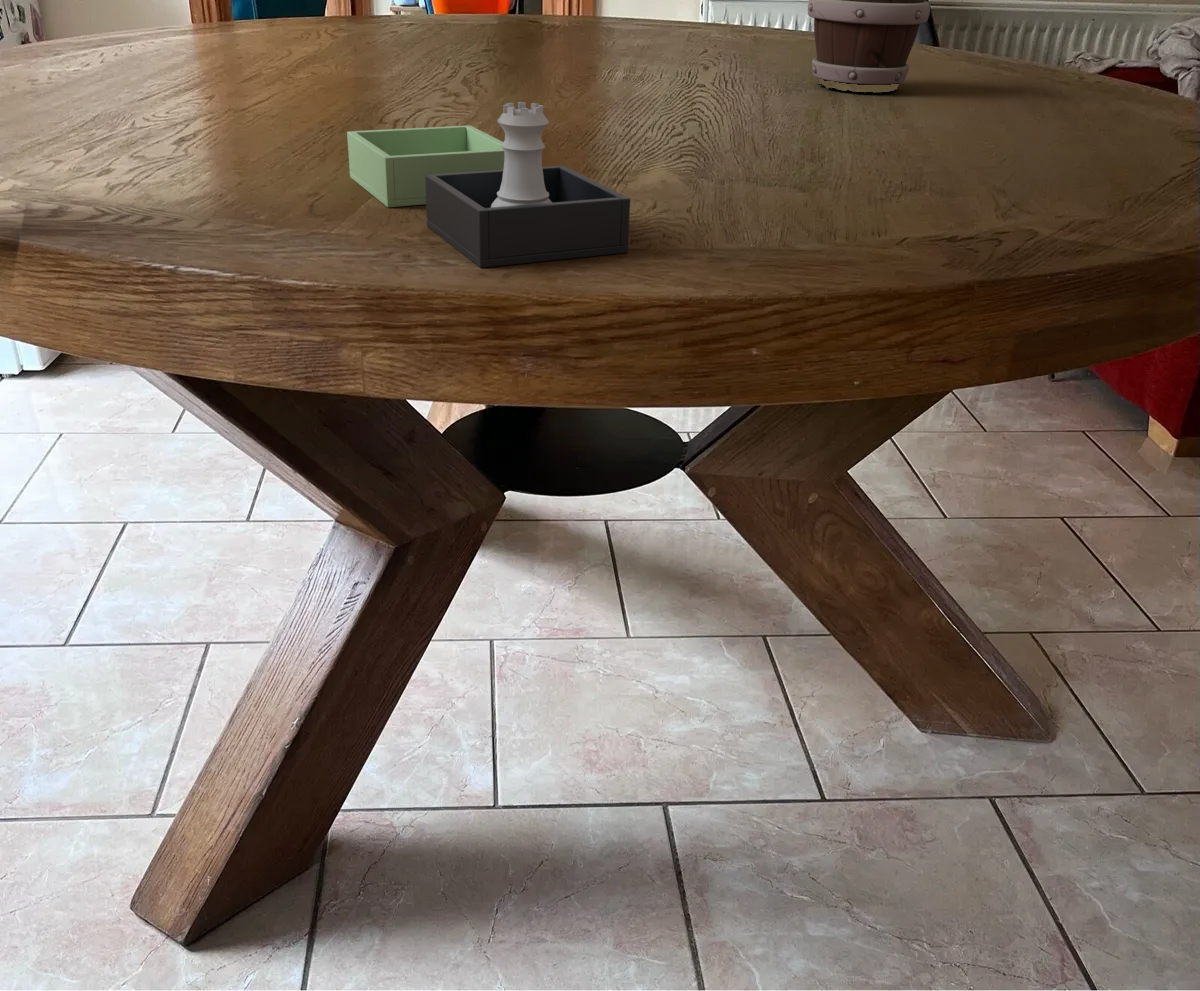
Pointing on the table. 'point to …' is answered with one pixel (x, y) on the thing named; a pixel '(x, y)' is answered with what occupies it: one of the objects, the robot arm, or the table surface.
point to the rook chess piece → (522, 156)
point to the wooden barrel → (865, 39)
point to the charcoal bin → (527, 218)
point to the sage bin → (417, 159)
